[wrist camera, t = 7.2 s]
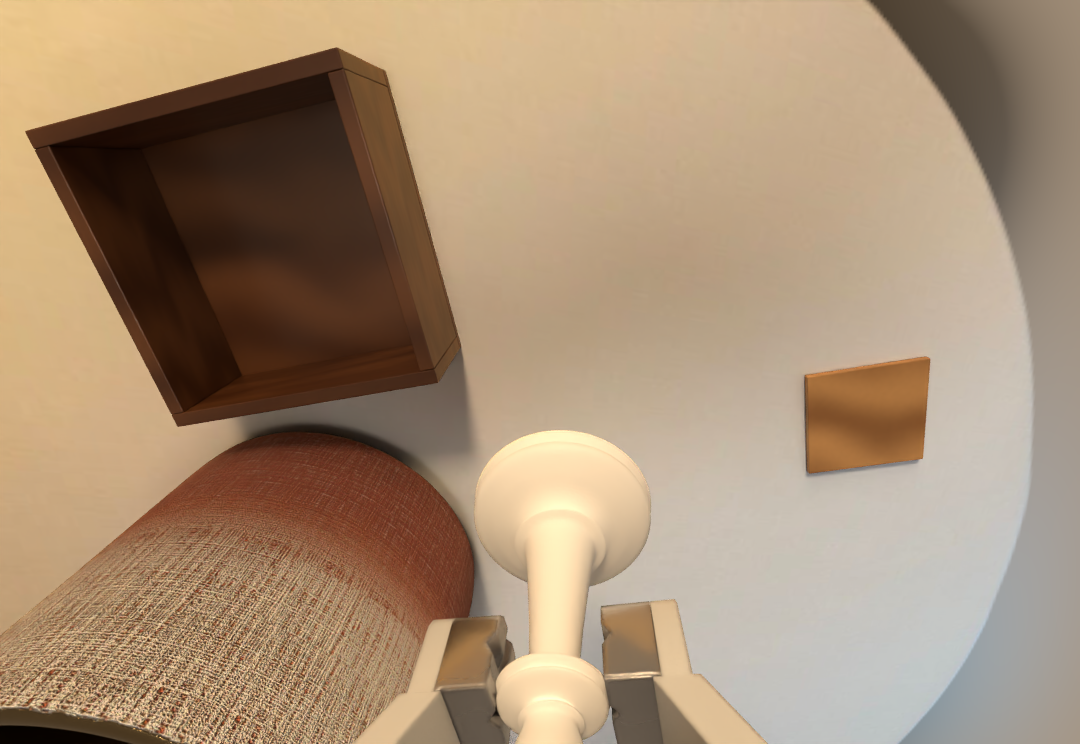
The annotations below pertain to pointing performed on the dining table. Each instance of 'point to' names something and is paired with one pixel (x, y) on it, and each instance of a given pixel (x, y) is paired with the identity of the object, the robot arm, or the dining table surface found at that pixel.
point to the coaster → (866, 415)
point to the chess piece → (559, 568)
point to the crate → (260, 237)
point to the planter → (245, 606)
